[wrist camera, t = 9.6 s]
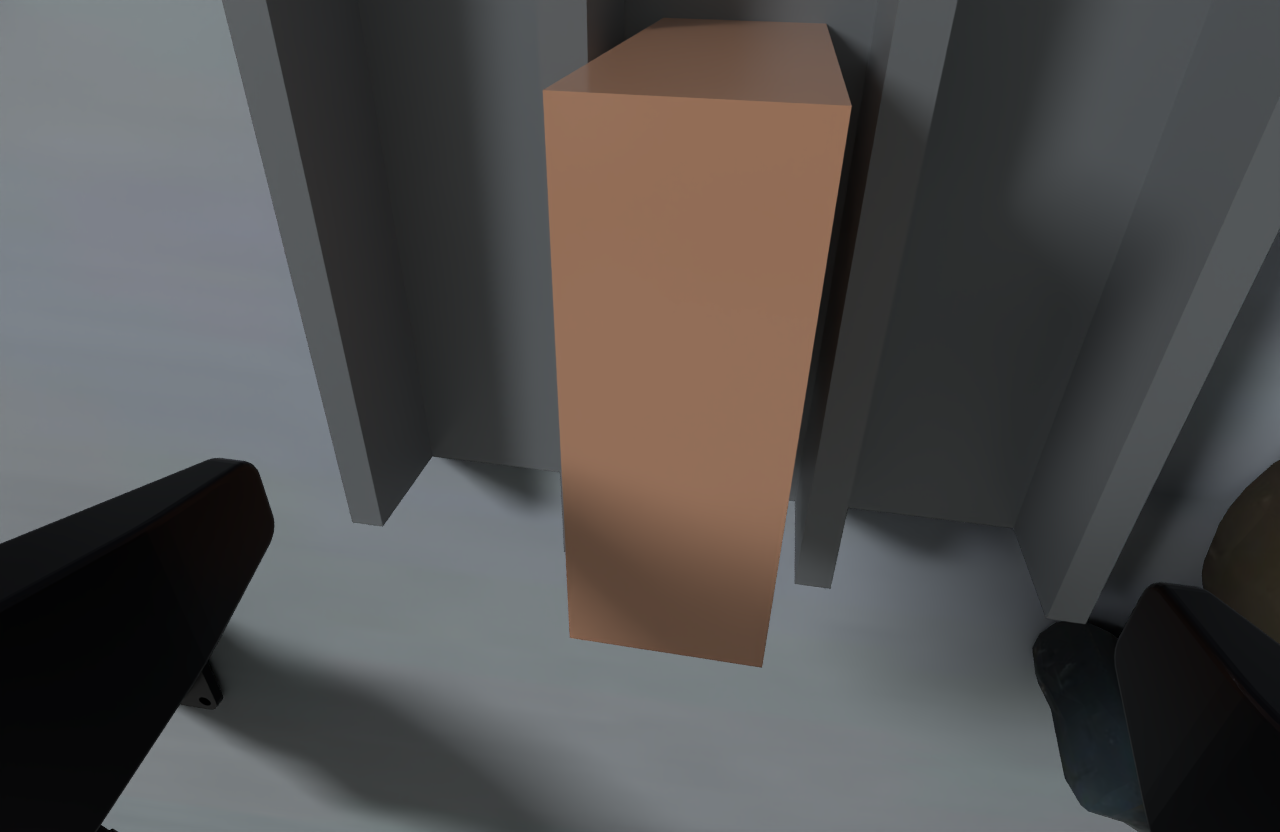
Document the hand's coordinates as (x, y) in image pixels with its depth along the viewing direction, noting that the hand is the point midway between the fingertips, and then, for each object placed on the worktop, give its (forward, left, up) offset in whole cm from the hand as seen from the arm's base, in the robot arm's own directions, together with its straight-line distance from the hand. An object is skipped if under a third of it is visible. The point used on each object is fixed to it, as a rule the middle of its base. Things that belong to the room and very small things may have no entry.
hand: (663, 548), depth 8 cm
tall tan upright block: (0, 0, -10) cm, 10 cm away
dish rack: (0, 0, -11) cm, 11 cm away
